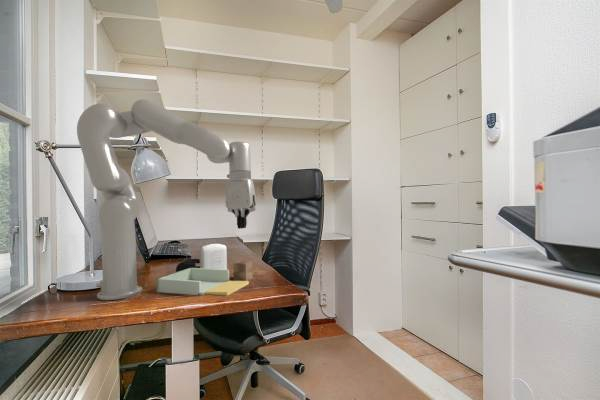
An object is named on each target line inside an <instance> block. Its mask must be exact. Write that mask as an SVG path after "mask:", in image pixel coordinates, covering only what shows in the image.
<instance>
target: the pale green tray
mask: <svg viewBox="0 0 600 400" xmlns="http://www.w3.org/2000/svg"><path fill="white" fill-rule="evenodd" d="M227 281H232V280H231V279H230V269H227V270H225V269H205V268H201V267H200V268H188V269H185V270H182V271H179V272H176V271H175V272H173V273H171V274H170V273H169V274H168V275H165V276H162V277H159V278H156V279H155V282H156V283H155V286H156V287H155V288H156V289H155V290H156V293H163V294H164V293H167V294H176V295H177V294H179V295H191V296H203V295H205V294H204V292H205V291H207V290H210V289H212V288H214V287H216V286H218V285H220V284H222V283H225V282H227Z"/></svg>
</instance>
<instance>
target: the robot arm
mask: <svg viewBox="0 0 600 400" xmlns="http://www.w3.org/2000/svg"><path fill="white" fill-rule="evenodd" d="M149 132H153V133H155V134H157V135H158V136H159V135H160V136H161V137H162V138H165V139H167V140H169V141H170V142H172V143H175V144H177V145H178V144H179V145H186V146H188V147H191V148H193V149H195V150H197V151H199V152H201V153H203V154H205V155H206V158H207V159H208V161H210V162H211V163H214V164H225V163H229V165H228V166H229V168H228V170H229V172H228V174H226V177H227V178H228V179H229V180H228V181H227V183H226V189H225V208H226V209H227V212H228V213H232V214H234V217H235V218H236V226H237V229H241V230H242V229H245V228H247V223H248V220H247V217H248V216H249V214H250V213H252V212H255V211H256V209H257V208H256V200H257V199H256V191H255V185H254V181H253V179H252V167H251V161H252V159H251V145H250V143H249V142H247V141H232V142H230V143H228V142H227V140H226V139H225V138H223V137H222V136H220V135H218V134H217V133H215V132H212V131H211V130H209V129H207V128H205V127H203V126H202V125H198V124H196V123H193V122H191V121H188V120H186V119H184V118H182V117H180V116H179V115H176V114H174V113H172V111H169V110H168V109H166V108H164V107H162V106H160V105H159V104H157V103H155V102H153V101H151V100H148V99H144V98H143V99H142V98H141V99H138V100H136V101H134V103H133V104H132V105H131V109H130V110H129V111H121V112H119V111H118V110H117V109H116V108H115V107H114V106H112V105H109V104H107V103H101V102H100V103H95V104H92V105H90V106H88V107H87V108H86V109H85V110H84V111H83V112H82V113H81V115H80V116H79V118H78V121H77V124H76V136H77V140H78V144H79V145H80V146H79V147H80V150H81V153H82V155H83V159H84V162H85V166H86V169H87V172H88V174H89V178H90V181H91V184H92V186H93V188H95V189H96V190H98V192H101V193H102V195H103V198H104V200H103V201H102V203H101V204H100V206H99V209H98V221H99V226H100V236H101V237H100V238H101V239H100V241H101V264H102V265H101V267H102V272H101V273H102V279H101V280H100V281H99V282H97V283H96V284H95V286H96V288H100V291H99V292H98V293H97V294H96V296H97V297H96V298H97V299H98V300H101V301H102V300H103V301H112V300H116V301H117V300H121V299H127V298H132V297H134V296H136V295H139V294H141V293H142V292H143V287H142V286H139V285H138V278H137V273H138V272H137V271H138V270H137V240H136V226H135V220H136V218H137V217H138V215H139V213H140V205H139V201H138V198H137V196H136V192H135V190H134V187H133V183H132V180H131V178H130V176H129V174H128V172H127V171H126V170H125V169H123V168H122V167H121V165H120V164H119V162H118V159H117V156H116V153H115V149H114V147H113V145H112V142H111V139H120V138H126V137H131V136H136V135H140V134H145V133H149Z"/></svg>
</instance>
